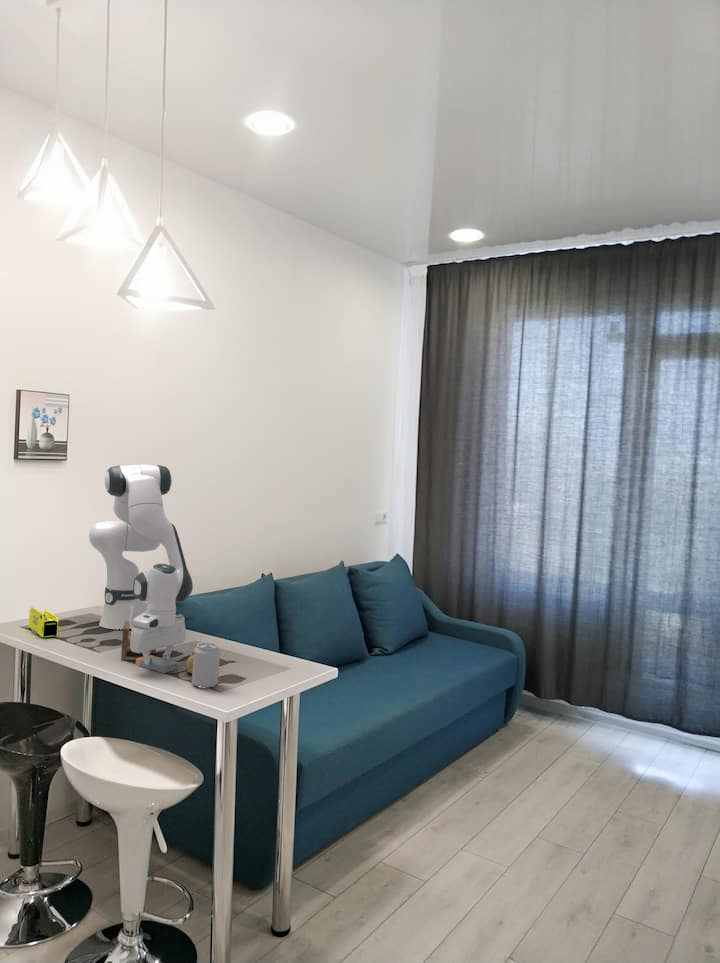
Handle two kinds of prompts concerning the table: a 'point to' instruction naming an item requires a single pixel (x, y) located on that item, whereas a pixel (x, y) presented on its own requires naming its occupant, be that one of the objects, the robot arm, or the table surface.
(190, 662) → the onion
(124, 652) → the tan bookend
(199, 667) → the can
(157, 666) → the two-tone tall prism
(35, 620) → the yellow toy chassis
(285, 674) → the table surface
